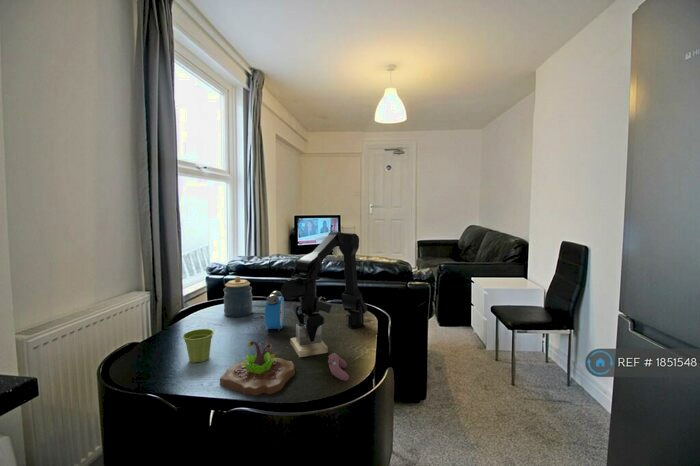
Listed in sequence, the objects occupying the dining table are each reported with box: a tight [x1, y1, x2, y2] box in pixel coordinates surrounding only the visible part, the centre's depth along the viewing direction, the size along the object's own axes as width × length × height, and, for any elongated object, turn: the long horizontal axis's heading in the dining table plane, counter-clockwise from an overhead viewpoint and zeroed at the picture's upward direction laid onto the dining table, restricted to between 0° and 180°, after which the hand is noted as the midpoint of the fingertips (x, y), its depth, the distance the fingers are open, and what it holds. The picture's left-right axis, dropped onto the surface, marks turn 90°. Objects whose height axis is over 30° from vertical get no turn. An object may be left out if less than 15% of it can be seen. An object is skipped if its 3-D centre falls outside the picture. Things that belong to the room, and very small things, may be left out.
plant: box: [219, 340, 296, 396], centre depth 105 cm, size 20×20×11 cm
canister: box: [223, 276, 253, 318], centre depth 167 cm, size 13×13×18 cm
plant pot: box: [182, 328, 215, 364], centre depth 117 cm, size 9×9×9 cm
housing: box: [295, 322, 323, 346], centre depth 127 cm, size 5×8×7 cm, turn 113°
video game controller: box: [327, 352, 350, 382], centre depth 107 cm, size 10×5×7 cm, turn 5°
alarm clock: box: [264, 290, 286, 332], centre depth 147 cm, size 13×6×15 cm, turn 1°
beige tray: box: [289, 336, 329, 358], centre depth 127 cm, size 10×13×2 cm
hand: (308, 336), depth 127 cm, fingers open, 9 cm apart
